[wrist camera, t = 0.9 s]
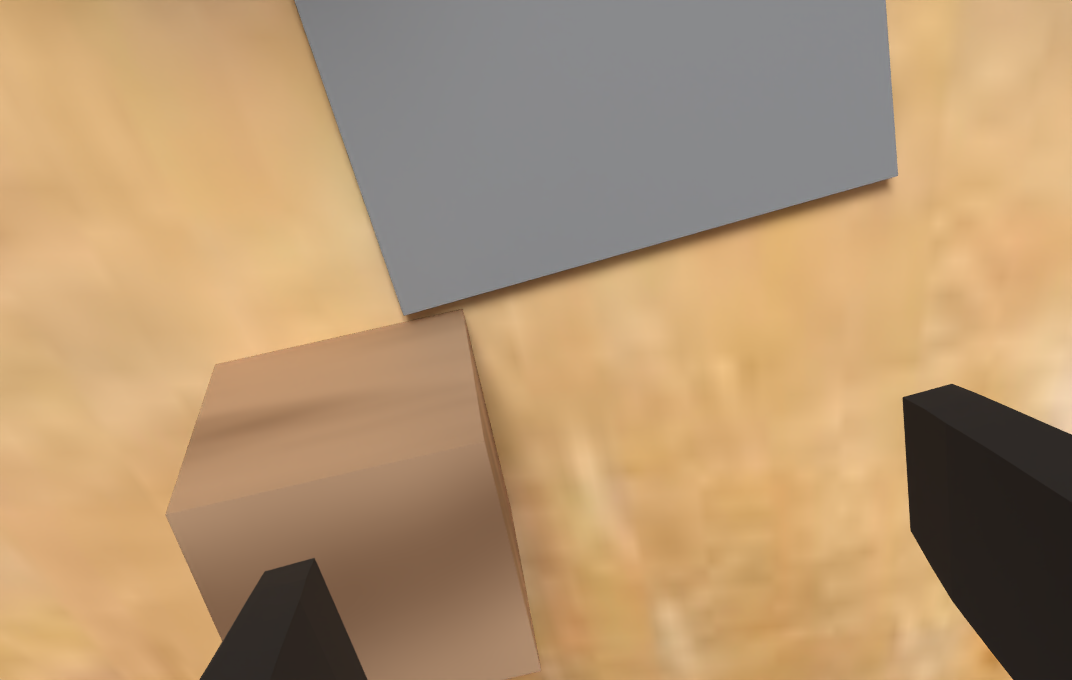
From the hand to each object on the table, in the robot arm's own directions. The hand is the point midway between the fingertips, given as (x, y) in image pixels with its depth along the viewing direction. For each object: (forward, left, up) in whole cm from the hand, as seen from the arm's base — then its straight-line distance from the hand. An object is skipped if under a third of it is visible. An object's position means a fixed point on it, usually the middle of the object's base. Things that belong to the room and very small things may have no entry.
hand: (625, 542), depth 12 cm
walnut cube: (-4, +5, -10) cm, 12 cm away
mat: (+5, -3, -10) cm, 12 cm away
